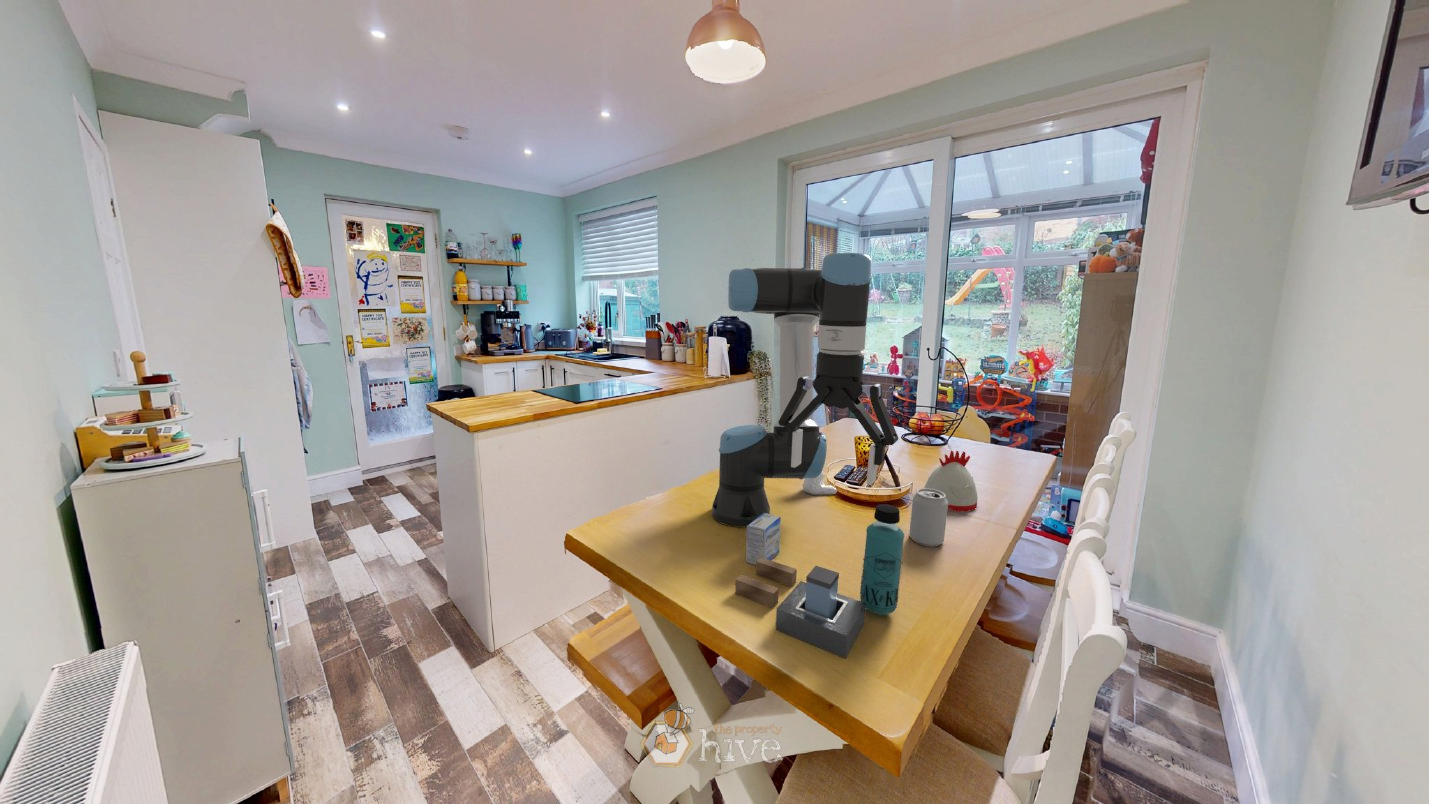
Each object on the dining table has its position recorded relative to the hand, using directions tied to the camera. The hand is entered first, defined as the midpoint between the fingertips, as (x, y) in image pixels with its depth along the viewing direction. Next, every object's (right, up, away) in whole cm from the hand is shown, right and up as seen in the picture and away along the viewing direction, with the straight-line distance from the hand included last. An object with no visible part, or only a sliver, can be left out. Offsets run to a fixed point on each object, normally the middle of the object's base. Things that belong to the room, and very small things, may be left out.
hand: (831, 473), depth 83 cm
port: (-2, -26, -2) cm, 26 cm away
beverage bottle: (+9, -25, +3) cm, 27 cm away
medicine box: (-10, -22, +21) cm, 32 cm away
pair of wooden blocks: (-10, -24, +9) cm, 28 cm away
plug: (-3, -26, -2) cm, 26 cm away
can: (+29, -20, +29) cm, 46 cm away
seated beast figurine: (+10, -14, +59) cm, 61 cm away
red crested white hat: (+46, -16, +53) cm, 72 cm away
